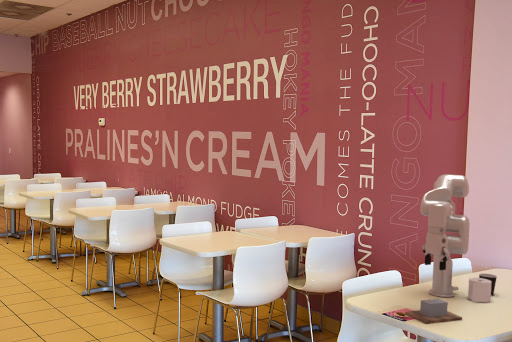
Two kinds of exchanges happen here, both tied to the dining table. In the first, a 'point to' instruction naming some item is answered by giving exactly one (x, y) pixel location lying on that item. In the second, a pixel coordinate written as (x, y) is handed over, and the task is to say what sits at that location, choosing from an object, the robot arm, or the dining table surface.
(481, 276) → the coffee mug
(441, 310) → the block
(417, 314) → the housing base
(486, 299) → the toilet tissue
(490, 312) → the dining table surface
